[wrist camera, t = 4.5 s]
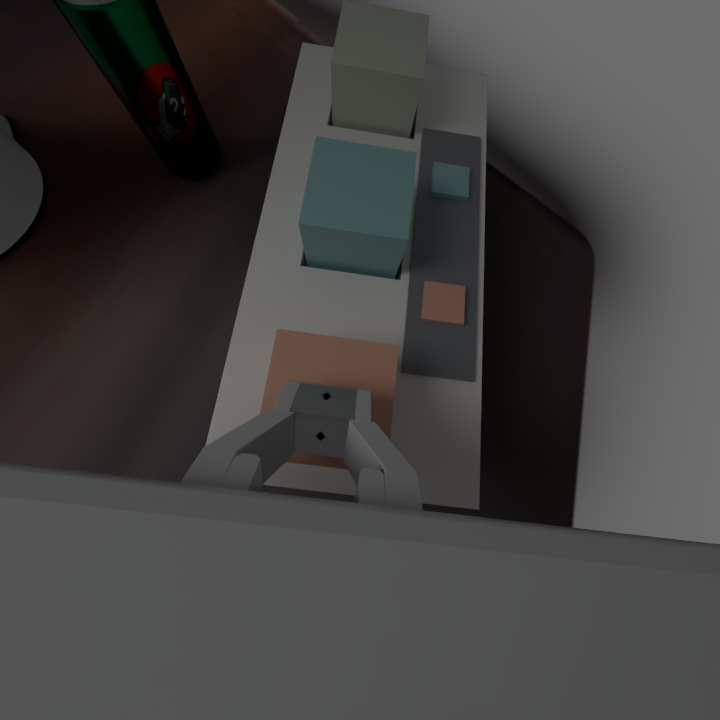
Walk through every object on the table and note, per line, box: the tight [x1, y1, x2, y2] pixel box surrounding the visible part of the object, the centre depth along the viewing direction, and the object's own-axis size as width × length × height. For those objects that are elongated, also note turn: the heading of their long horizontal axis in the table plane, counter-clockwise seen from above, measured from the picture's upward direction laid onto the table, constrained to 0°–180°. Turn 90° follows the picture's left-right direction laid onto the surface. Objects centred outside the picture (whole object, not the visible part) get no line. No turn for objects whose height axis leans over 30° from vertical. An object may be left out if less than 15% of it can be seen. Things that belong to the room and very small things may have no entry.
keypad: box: [206, 42, 488, 510], centre depth 20 cm, size 13×28×8 cm, turn 173°
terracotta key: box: [260, 329, 399, 469], centre depth 13 cm, size 5×5×4 cm
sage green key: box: [331, 0, 429, 138], centre depth 18 cm, size 5×5×4 cm
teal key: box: [298, 136, 417, 279], centre depth 15 cm, size 5×5×4 cm
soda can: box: [53, 0, 221, 179], centre depth 20 cm, size 5×5×12 cm
